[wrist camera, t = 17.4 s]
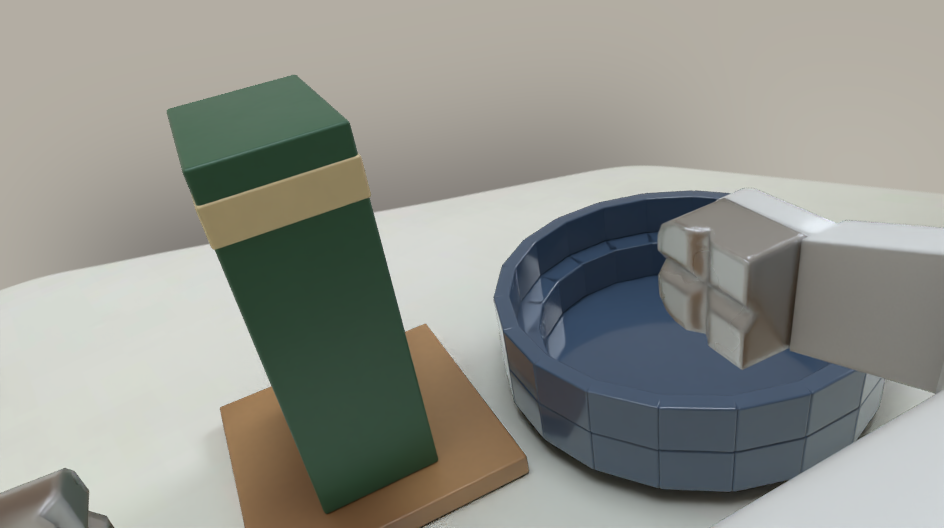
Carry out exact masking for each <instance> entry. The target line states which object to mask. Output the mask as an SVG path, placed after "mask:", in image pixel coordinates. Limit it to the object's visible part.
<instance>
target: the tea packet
mask: <svg viewBox="0 0 944 528" xmlns="http://www.w3.org/2000/svg"><path fill="white" fill-rule="evenodd" d="M167 115H168V119H169V122H170V127H171V130H172V134H173V138H174V142H175V145H176V149H177V153H178V157H179V160H180V164H181V168H182V172H183V175H184V177H185V180H186V182H187V184H188V187H189V189H190V192H191V195H192V199H193V202H194V206H195V210H196V212H197V215H198V217H199V219H200V222H201V224H202V227H203V229H204V231H205V233H206V236H207V238H208V241H209V243H210V246H211V248H212V249H214V250H215V252H216V254H217V256H218V259H219V261H220V264H221V266H222V268H223V271H224V273H225V276H226V278H227V280H228V283H229V285H230V288H231V290H232V292H233V295H234V297H235V300H236V302H237V304H238V307H239V309H240V312H241V314H242V316H243V319H244V321H245V324H246V326H247V328H248V331H249V333H250V336H251V338H252V340H253V343H254V345H255V348H256V350H257V352H258V355H259V357H260V360H261V362H262V364H263V367H264V369H265V372H266V374H267V376H268V379H269V381H270V384H271V386H272V388H273V391H274V393H275V396H276V398H277V400H278V403H279V405H280V408H281V410H282V412H283V415H284V417H285V420H286V422H287V424H288V427H289V429H290V432H291V434H292V436H293V439H294V441H295V444H296V446H297V448H298V451H299V453H300V456H301V458H302V460H303V463H304V465H305V468H306V470H307V473H308V475H309V477H310V480H311V482H312V485H313V487H314V489H315V492H316V494H317V497H318V499H319V501H320V504H321V506H322V509H323V511H324V513H326V514H328V513H330V512H332V511H335V510H337V509H339V508H341V507H343V506H345V505H347V504H349V503H351V502H353V501H356V500H358V499H360V498H362V497H364V496H366V495H368V494H370V493H372V492H374V491H376V490H379V489H381V488H383V487H385V486H387V485H389V484H391V483H393V482H395V481H397V480H399V479H402V478H404V477H406V476H408V475H410V474H412V473H414V472H416V471H418V470H420V469H422V468H425V467H427V466H429V465H431V464H433V463H435V462H437V461H438V455H437V452H436V448H435V444H434V440H433V436H432V433H431V429H430V425H429V421H428V417H427V414H426V410H425V406H424V402H423V399H422V395H421V391H420V387H419V383H418V380H417V376H416V372H415V368H414V364H413V361H412V357H411V353H410V349H409V346H408V342H407V338H406V334H405V330H404V327H403V323H402V319H401V315H400V311H399V308H398V304H397V300H396V296H395V292H394V289H393V285H392V281H391V277H390V274H389V270H388V266H387V262H386V258H385V255H384V251H383V247H382V243H381V239H380V236H379V232H378V228H377V224H376V221H375V217H374V213H373V209H372V206H371V202H370V198H369V197H370V196H371V192H370V189H369V185H368V181H367V177H366V174H365V169H364V166H363V162H362V158H361V156H360V155H359V154H358V152H357V149H356V145H355V141H354V137H353V133H352V130H351V126H350V123H349V121H348V120H347V119H345V118H344V117H343V116H342V115H341V114H340V113H339V112H338V111H336V110H335V109H334V108H333V107H332V106H331V105H330V104H328V103H327V102H326V101H325V100H324V99H323V98H322V97H320V96H319V95H318V94H317V93H316V92H315V91H314V90H313V89H311V88H310V87H309V86H308V85H307V84H306V83H305V82H303V81H302V80H301V79H300V78H299V77H298V76H297V75H291V76H287V77H284V78H280V79H277V80H273V81H269V82H266V83H262V84H258V85H255V86H251V87H247V88H244V89H240V90H236V91H233V92H229V93H225V94H222V95H218V96H215V97H211V98H207V99H203V100H200V101H196V102H192V103H189V104H185V105H181V106H178V107H174V108H170V109H168V110H167Z"/></svg>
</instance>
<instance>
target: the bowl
mask: <svg viewBox="0 0 944 528" xmlns="http://www.w3.org/2000/svg"><path fill="white" fill-rule="evenodd" d="M729 194H731V193H720V192H708V191H675V192H657V193H645V194H638V195H633V196H628V197H623V198H618V199H613V200H608V201H603V202H599V203H596V204H593V205H590V206H588V207H585V208H582V209H580V210H577V211H575V212H572V213H569V214H567V215H564V216H561V217H559V218H558V219H555V220H553V221H552V222H550V223H549V224H547V225H546V226H544V227H543V228H541V229H539V230H538V231H536V232H535V233H533V234H532V235H530V236H529V237H527V238H526V239H525V240H523V241H522V242H521V244H520V245H519V246H518V247H517V248H516V250H515V251H514V252H513V253H512V254H511V256H510V257H509V258H508V259H507V260H506V262H505V263H504V264H503V265H502V267H501V271H500V275H499V279H498V282H497V286H496V290H495V294H494V305H495V311H496V317H497V323H498V328H499V334H500V340H501V346H502V352H503V358H504V363H505V369H506V372H507V376H508V380H509V384H510V387H511V391H512V395H513V398H514V402H515V403H516V405H517V406H518V407H519V409H520V410H521V411H522V412H523V414H524V415H525V416H526V417H527V418H528V420H529V421H530V422H531V423H532V425H533V426H534V427H535V428H536V429H537V431H538V432H539V433H540V434H541V436H542V437H543V438H544V439H545V440H546V441H548V442H549V443H551V444H553V445H554V446H556V447H557V448H559V449H561V450H562V451H564V452H566V453H567V454H569V455H570V456H572V457H574V458H575V459H577V460H578V461H580V462H582V463H583V464H585V465H587V466H588V467H590V468H591V469H595V470H597V471H600V472H604V473H607V474H611V475H614V476H617V477H621V478H624V479H628V480H631V481H635V482H638V483H641V484H645V485H648V486H652V487H655V488H659V487H660V489H672V490H695V491H719V492H731V491H733V492H735V491H740V490H745V489H749V488H754V487H758V486H763V485H768V484H772V483H777V482H781V481H786V480H791V479H792V478H794V477H796V476H797V475H799V474H801V473H802V472H804V471H806V470H808V469H809V468H811V467H813V466H814V465H816V464H818V463H819V462H821V461H823V460H825V459H826V458H828V457H830V456H831V455H833V454H835V453H836V452H838V451H840V450H842V449H843V448H845V447H847V446H848V445H850V444H852V443H853V442H855V441H856V440H857V439H858V437H859V436H860V434H861V433H862V432H863V430H864V429H865V427H866V426H867V424H868V423H869V422H870V420H871V419H872V417H873V416H874V414H875V413H876V412H877V410H878V408H879V406H880V401H881V397H882V392H883V387H884V383H885V379H884V378H881V377H877V376H874V375H870V374H867V373H864V372H860V371H857V370H853V369H850V368H847V367H843V366H840V365H836V364H833V363H830V362H826V361H823V360H819V359H816V358H813V357H809V356H806V355H802V354H799V353H796V352H792V351H790V348H788V349H786V350H784V351H782V352H780V353H777V354H775V355H773V356H771V357H769V358H767V359H765V360H763V361H760V362H758V363H756V364H754V365H752V366H750V367H748V368H746V369H744V370H741V369H740V368H739V367H737V366H736V365H734V364H733V363H732V362H730V361H729V360H727V359H726V358H725V357H723V356H722V355H721V354H719V353H718V352H716V351H715V350H714V349H712V348H711V347H709V346H708V342H707V337H706V334H704V333H699V332H694V331H689V330H686V329H685V328H684V327H682V326H681V325H680V324H678V323H677V322H676V321H675V320H674V319H673V318H672V317H671V315H670V314H669V313H668V312H667V311H666V309H665V306H664V304H663V302H662V299H661V297H660V295H659V282H658V274H659V272H660V270H661V268H662V266H663V264H664V262H665V260H666V258H665V257H664V256H663V255H662V254H661V253H660V252H659V251H658V232H659V230H660V227H661V224H663V223H665V222H668V221H670V220H673V219H675V218H677V217H680V216H682V215H684V214H687V213H689V212H692V211H694V210H696V209H699V208H701V207H703V206H706V205H708V204H711V203H713V202H715V201H716V200H717V199H720V198H722V197H724V196H726V195H729Z"/></svg>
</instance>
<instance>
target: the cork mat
mask: <svg viewBox="0 0 944 528" xmlns="http://www.w3.org/2000/svg"><path fill="white" fill-rule="evenodd" d="M405 334H406V338H407V342H408V346H409V349H410V353H411V357H412V361H413V364H414V368H415V372H416V376H417V380H418V383H419V387H420V391H421V395H422V399H423V402H424V406H425V410H426V414H427V417H428V421H429V425H430V429H431V433H432V436H433V440H434V444H435V448H436V452H437V455H438V461H437V462H435V463H433V464H431V465H429V466H427V467H425V468H422V469H420V470H418V471H416V472H414V473H412V474H410V475H408V476H406V477H404V478H402V479H399V480H397V481H395V482H393V483H391V484H389V485H387V486H385V487H383V488H381V489H379V490H376V491H374V492H372V493H370V494H368V495H366V496H364V497H362V498H360V499H358V500H356V501H353V502H351V503H349V504H347V505H345V506H343V507H341V508H339V509H337V510H335V511H332V512H330V513H328V514H326V513H324V511H323V509H322V506H321V504H320V501H319V499H318V497H317V494H316V492H315V489H314V487H313V485H312V482H311V480H310V477H309V475H308V473H307V470H306V468H305V465H304V463H303V460H302V458H301V456H300V453H299V451H298V448H297V446H296V444H295V441H294V439H293V436H292V434H291V432H290V429H289V427H288V424H287V422H286V420H285V417H284V415H283V412H282V410H281V408H280V405H279V403H278V400H277V398H276V396H275V393H274V391H273V388H272V386H271V387H269V388H266V389H264V390H262V391H259V392H257V393H254V394H252V395H249V396H247V397H244V398H242V399H239V400H237V401H235V402H232V403H230V404H227V405H225V406H222V407H220V412H221V417H222V421H223V426H224V431H225V436H226V440H227V445H228V450H229V455H230V459H231V464H232V469H233V474H234V478H235V483H236V488H237V493H238V497H239V502H240V507H241V511H242V516H243V521H244V526H245V528H419V527H421V526H423V525H425V524H427V523H429V522H431V521H433V520H435V519H437V518H439V517H441V516H443V515H445V514H447V513H449V512H451V511H453V510H455V509H457V508H459V507H461V506H463V505H465V504H467V503H469V502H471V501H473V500H475V499H477V498H479V497H481V496H483V495H485V494H487V493H489V492H491V491H493V490H495V489H497V488H499V487H501V486H503V485H505V484H507V483H509V482H511V481H513V480H515V479H517V478H519V477H520V476H522V475H524V474H526V473H528V472H529V469H528V462H527V456H526V455H525V454H524V452H523V451H522V450H521V448H520V447H519V446H518V444H517V443H516V442H515V440H514V439H513V438H512V437H511V435H510V434H509V433H508V431H507V430H506V429H505V427H504V426H503V425H502V423H501V422H500V421H499V419H498V418H497V417H496V415H495V414H494V413H493V411H492V410H491V409H490V408H489V406H488V405H487V404H486V402H485V401H484V400H483V398H482V397H481V396H480V394H479V393H478V392H477V390H476V389H475V388H474V386H473V385H472V384H471V382H470V381H469V380H468V379H467V377H466V376H465V375H464V373H463V372H462V371H461V369H460V368H459V367H458V365H457V364H456V363H455V361H454V360H453V359H452V357H451V356H450V355H449V353H448V352H447V351H446V350H445V348H444V347H443V346H442V344H441V343H440V342H439V340H438V339H437V338H436V336H435V335H434V334H433V332H432V331H431V330H430V328H429V327H428V326H427V324H423V325H421V326H418V327H416V328H413V329H411V330H409V331H406V332H405Z"/></svg>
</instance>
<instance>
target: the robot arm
mask: <svg viewBox="0 0 944 528" xmlns="http://www.w3.org/2000/svg"><path fill="white" fill-rule="evenodd" d="M658 251H659V252H660V253H661V254H662V255H663V256H664V257H665V258H666V260H665V262H664V264H663V266H662V268H661V270H660V272H659V274H658V282H659V295H660V297H661V299H662V302H663V304H664V306H665V309H666V311H667V312H668V313H669V314H670V315H671V317H672V318H673V319H674V320H675V321H676V322H677V323H678V324H680V325H681V326H682V327H684V328H685V329H686V330H689V331H694V332H699V333H704V334H706V337H707V342H708V346H709V347H711V348H712V349H714V350H715V351H716V352H718V353H719V354H721V355H722V356H723V357H725V358H726V359H727V360H729V361H730V362H732V363H733V364H734V365H736V366H737V367H739V368H740V369H741V370H744V369H746V368H748V367H750V366H752V365H754V364H756V363H758V362H760V361H763V360H765V359H767V358H769V357H771V356H773V355H775V354H777V353H780V352H782V351H784V350H786V349H788V348H790V351H792V352H796V353H799V354H802V355H806V356H809V357H813V358H816V359H819V360H823V361H826V362H830V363H833V364H836V365H840V366H843V367H847V368H850V369H853V370H857V371H860V372H864V373H867V374H870V375H874V376H877V377H881V378H884V379H887V380H891V381H894V382H898V383H901V384H904V385H908V386H911V387H915V388H918V389H921V390H925V391H928V392H932V393H935V395H933V396H932V397H930V398H928V399H927V400H925V401H923V402H921V403H920V404H918V405H916V406H915V407H913V408H911V409H910V410H908V411H906V412H904V413H903V414H901V415H899V416H898V417H896V418H894V419H892V420H891V421H889V422H887V423H886V424H884V425H882V426H881V427H879V428H877V429H875V430H874V431H872V432H870V433H869V434H867V435H865V436H864V437H862V438H860V439H859V440H857V441H855V442H853V443H852V444H850V445H848V446H847V447H845V448H843V449H842V450H840V451H838V452H836V453H835V454H833V455H831V456H830V457H828V458H826V459H825V460H823V461H821V462H819V463H818V464H816V465H814V466H813V467H811V468H809V469H808V470H806V471H804V472H802V473H801V474H799V475H797V476H796V477H794V478H792V479H791V480H789V481H787V482H785V483H784V484H782V485H780V486H779V487H777V488H775V489H774V490H772V491H770V492H769V493H767V494H765V495H763V496H762V497H760V498H758V499H757V500H755V501H753V502H752V503H750V504H748V505H746V506H745V507H743V508H741V509H740V510H738V511H736V512H735V513H733V514H731V515H729V516H728V517H726V518H724V519H723V520H721V521H719V522H718V523H716V524H714V525H712V526H711V527H709V528H944V228H943V227H930V226H917V225H904V224H891V223H878V222H866V221H853V220H844V221H842V222H840V223H836V222H833V221H831V220H829V219H826V218H824V217H821V216H819V215H817V214H814V213H812V212H810V211H807V210H805V209H803V208H800V207H798V206H795V205H793V204H791V203H788V202H786V201H784V200H781V199H779V198H777V197H774V196H772V195H770V194H767V193H765V192H762V191H760V190H758V189H755V188H742V189H740V190H737V191H735V192H733V193H731V194H729V195H726V196H724V197H722V198H720V199H717V200H716V201H715V202H713V203H711V204H708V205H706V206H703V207H701V208H699V209H696V210H694V211H692V212H689V213H687V214H684V215H682V216H680V217H677V218H675V219H673V220H670V221H668V222H665V223H663V224H661V227H660V230H659V232H658ZM88 504H89V490H88V489H87V487H86V486H85V485H84V483H83V482H82V481H81V479H80V478H79V477H78V475H77V474H76V473H75V471H73V470H70V469H67V468H64V469H61V470H58V471H56V472H53V473H51V474H48V475H46V476H43V477H40V478H38V479H35V480H33V481H30V482H28V483H25V484H22V485H20V486H17V487H15V488H12V489H10V490H7V491H4V492H2V493H0V528H114V527H113V525H112V524H111V522H110V521H109V519H108V517H107V516H105V515H101V514H98V513H94V512H91V511H88Z"/></svg>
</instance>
